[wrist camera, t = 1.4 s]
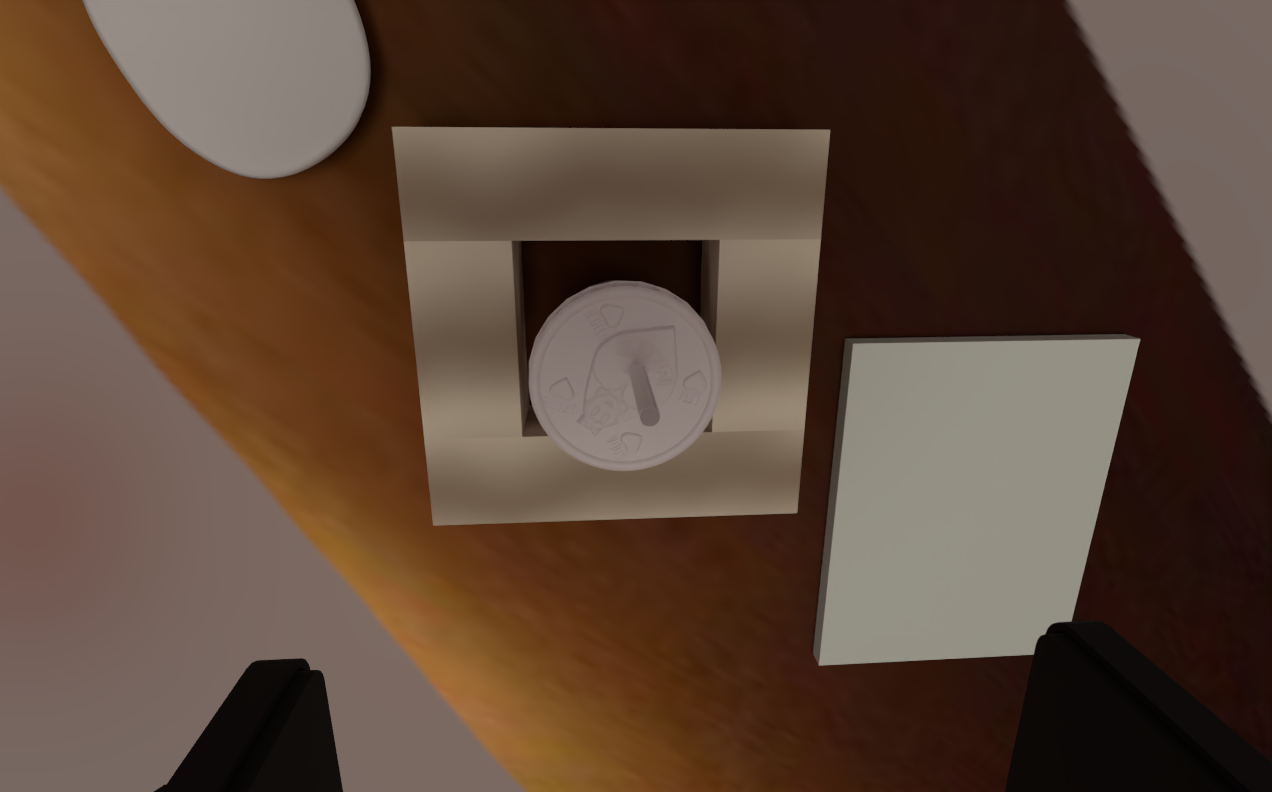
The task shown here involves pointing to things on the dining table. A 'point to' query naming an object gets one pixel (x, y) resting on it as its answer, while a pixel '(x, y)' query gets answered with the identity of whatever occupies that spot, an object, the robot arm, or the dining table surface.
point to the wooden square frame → (609, 210)
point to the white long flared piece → (244, 75)
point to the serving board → (964, 491)
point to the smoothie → (624, 375)
